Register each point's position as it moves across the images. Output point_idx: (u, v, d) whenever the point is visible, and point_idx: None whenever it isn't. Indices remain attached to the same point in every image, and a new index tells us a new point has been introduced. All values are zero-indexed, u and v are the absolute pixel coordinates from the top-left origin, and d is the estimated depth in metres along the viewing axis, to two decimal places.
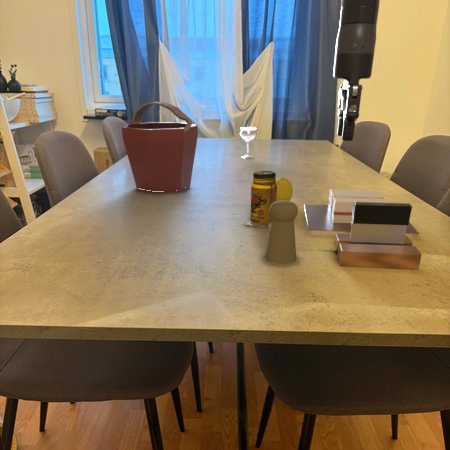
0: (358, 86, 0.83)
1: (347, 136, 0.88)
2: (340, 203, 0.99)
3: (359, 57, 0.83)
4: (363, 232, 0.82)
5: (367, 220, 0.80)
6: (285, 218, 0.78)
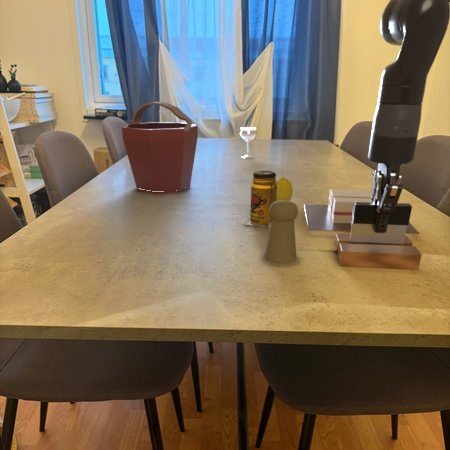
0: (398, 188, 0.72)
1: (380, 228, 0.79)
2: (340, 203, 0.99)
3: (401, 142, 0.71)
4: (363, 232, 0.82)
5: (367, 220, 0.80)
6: (285, 218, 0.78)
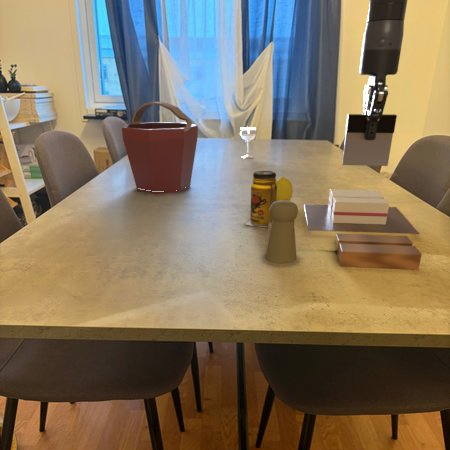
0: (384, 93, 0.85)
1: (369, 135, 0.92)
2: (340, 203, 0.99)
3: (387, 53, 0.84)
4: (355, 141, 0.95)
5: (359, 129, 0.93)
6: (285, 218, 0.78)
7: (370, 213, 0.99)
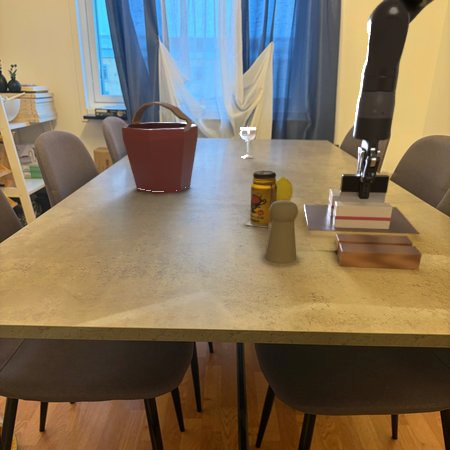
0: (376, 160, 0.88)
1: (363, 195, 0.96)
2: (342, 207, 0.96)
3: (379, 122, 0.88)
4: (349, 199, 0.99)
5: (353, 189, 0.97)
6: (285, 218, 0.78)
7: (373, 217, 0.96)
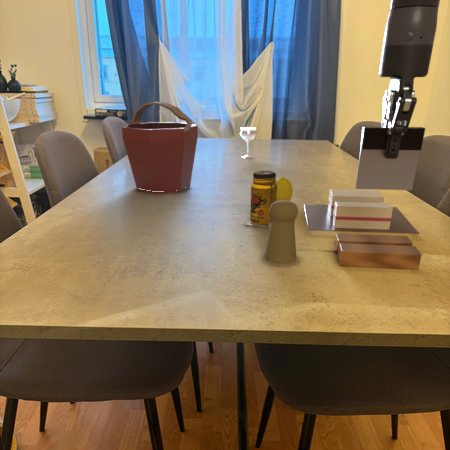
0: (412, 101, 0.66)
1: (391, 153, 0.74)
2: (342, 207, 0.95)
3: (416, 50, 0.66)
4: (372, 160, 0.77)
5: (377, 145, 0.75)
6: (285, 218, 0.78)
7: (373, 218, 0.95)
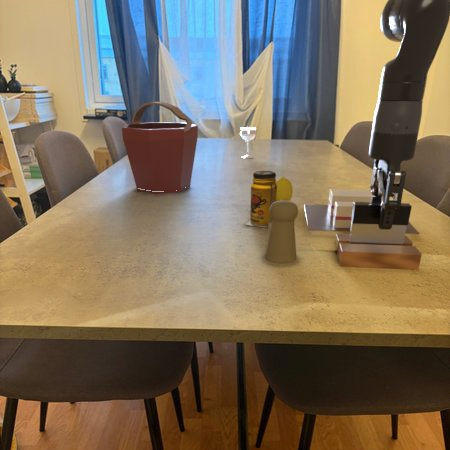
0: (401, 173, 0.70)
1: (385, 225, 0.76)
2: (342, 207, 0.95)
3: (402, 138, 0.70)
4: (363, 232, 0.82)
5: (367, 220, 0.80)
6: (285, 218, 0.78)
7: None
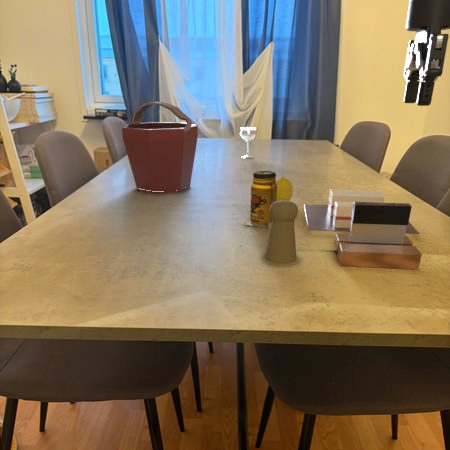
0: (444, 35, 0.67)
1: (424, 99, 0.73)
2: (342, 207, 0.95)
3: (444, 0, 0.68)
4: (363, 232, 0.82)
5: (367, 220, 0.80)
6: (285, 218, 0.78)
7: None
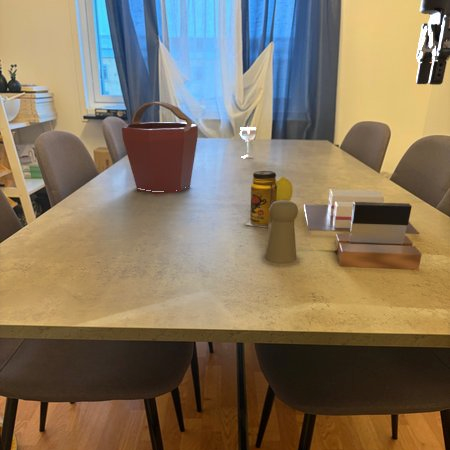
0: None
1: (436, 78, 0.77)
2: (342, 207, 0.95)
3: None
4: (363, 232, 0.82)
5: (367, 220, 0.80)
6: (285, 218, 0.78)
7: None
